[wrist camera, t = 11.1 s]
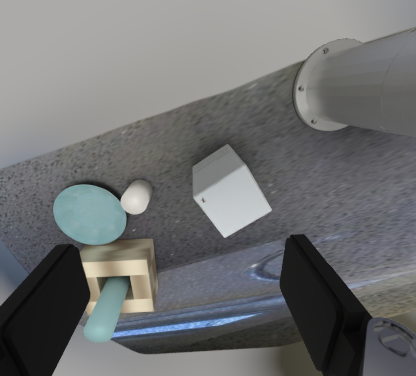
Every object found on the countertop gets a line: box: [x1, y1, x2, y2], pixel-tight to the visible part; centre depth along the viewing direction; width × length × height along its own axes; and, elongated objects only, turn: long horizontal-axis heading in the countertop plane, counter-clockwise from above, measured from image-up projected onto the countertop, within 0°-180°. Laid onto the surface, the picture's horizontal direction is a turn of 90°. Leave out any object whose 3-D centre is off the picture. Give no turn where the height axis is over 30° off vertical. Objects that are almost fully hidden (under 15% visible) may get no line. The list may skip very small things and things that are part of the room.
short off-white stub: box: [121, 179, 153, 214], centre depth 37 cm, size 4×4×5 cm
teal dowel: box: [83, 275, 131, 343], centre depth 38 cm, size 4×4×14 cm
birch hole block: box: [80, 238, 158, 315], centre depth 42 cm, size 12×12×6 cm
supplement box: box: [193, 144, 272, 238], centre depth 33 cm, size 7×7×13 cm
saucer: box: [53, 184, 126, 245], centre depth 39 cm, size 12×12×2 cm
